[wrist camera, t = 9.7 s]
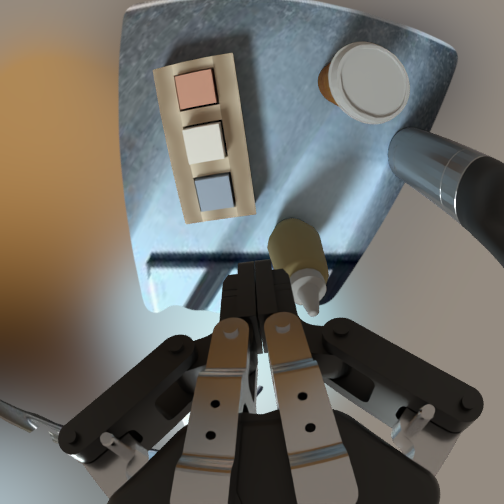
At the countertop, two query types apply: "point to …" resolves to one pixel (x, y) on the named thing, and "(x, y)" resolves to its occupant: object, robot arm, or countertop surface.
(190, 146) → the white key
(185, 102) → the terracotta key
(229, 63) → the key box
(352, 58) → the disposable coffee cup
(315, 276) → the squeeze bottle
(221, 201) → the slate key
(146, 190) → the countertop surface
